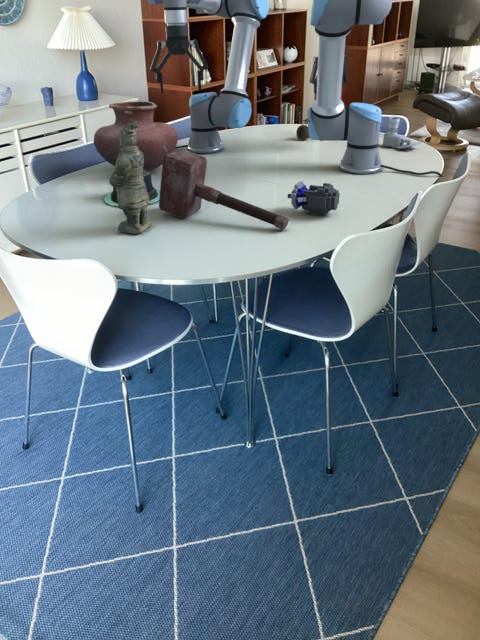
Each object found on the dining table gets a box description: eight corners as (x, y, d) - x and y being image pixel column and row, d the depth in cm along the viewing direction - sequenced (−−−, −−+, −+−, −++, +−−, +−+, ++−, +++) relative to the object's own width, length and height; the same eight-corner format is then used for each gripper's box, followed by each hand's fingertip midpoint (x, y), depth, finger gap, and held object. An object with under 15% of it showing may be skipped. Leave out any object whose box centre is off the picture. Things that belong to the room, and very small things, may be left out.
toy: (295, 178, 172) (342, 184, 166) (295, 205, 177) (340, 211, 171) (285, 186, 166) (333, 192, 160) (284, 213, 170) (331, 220, 164)
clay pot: (187, 162, 225) (183, 96, 212) (166, 184, 199) (159, 111, 187) (116, 160, 230) (108, 96, 217) (87, 181, 204) (75, 110, 192)
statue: (131, 220, 168) (117, 116, 152) (158, 224, 164) (147, 118, 149) (109, 233, 159) (93, 124, 144) (138, 237, 156) (124, 126, 140)
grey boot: (392, 115, 240) (425, 120, 231) (389, 143, 246) (420, 148, 237) (382, 118, 234) (415, 123, 226) (379, 146, 240) (410, 152, 232)
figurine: (338, 121, 266) (314, 124, 247) (336, 138, 269) (312, 141, 250) (313, 119, 272) (288, 121, 253) (312, 135, 275) (287, 138, 256)
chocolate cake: (91, 202, 180) (113, 186, 197) (142, 231, 182) (160, 212, 199) (107, 162, 172) (129, 148, 190) (160, 192, 174) (177, 176, 192)
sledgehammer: (299, 190, 156) (179, 147, 167) (285, 200, 148) (161, 154, 160) (286, 244, 166) (174, 200, 177) (272, 256, 158) (156, 209, 170)
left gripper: (210, 22, 193) (213, 88, 204) (138, 25, 189) (145, 92, 199) (214, 23, 187) (217, 91, 197) (139, 26, 182) (146, 95, 193)
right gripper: (352, 38, 225) (348, 97, 236) (302, 40, 221) (300, 101, 232) (360, 40, 219) (355, 100, 230) (308, 42, 214) (306, 104, 226)
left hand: (181, 91), depth 198 cm, fingers open, 13 cm apart
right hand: (327, 100), depth 231 cm, fingers closed on block, 9 cm apart
